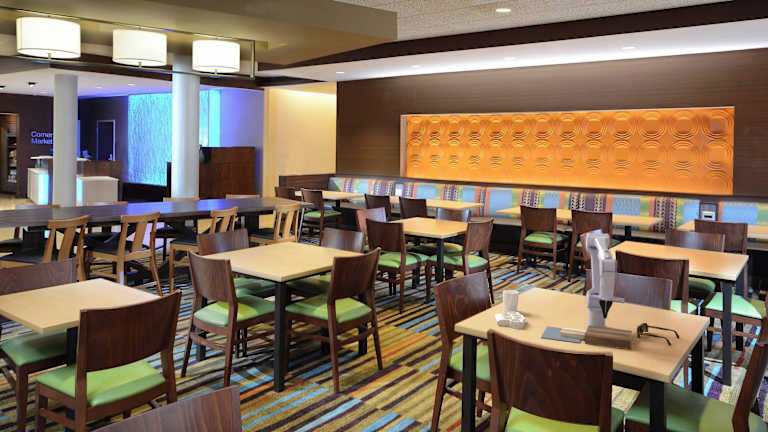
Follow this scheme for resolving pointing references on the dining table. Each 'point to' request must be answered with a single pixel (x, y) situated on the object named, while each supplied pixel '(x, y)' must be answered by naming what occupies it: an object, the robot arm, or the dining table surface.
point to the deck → (608, 337)
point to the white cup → (510, 300)
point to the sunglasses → (644, 328)
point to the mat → (557, 335)
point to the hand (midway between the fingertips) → (605, 317)
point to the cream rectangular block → (573, 333)
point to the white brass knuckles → (511, 319)
